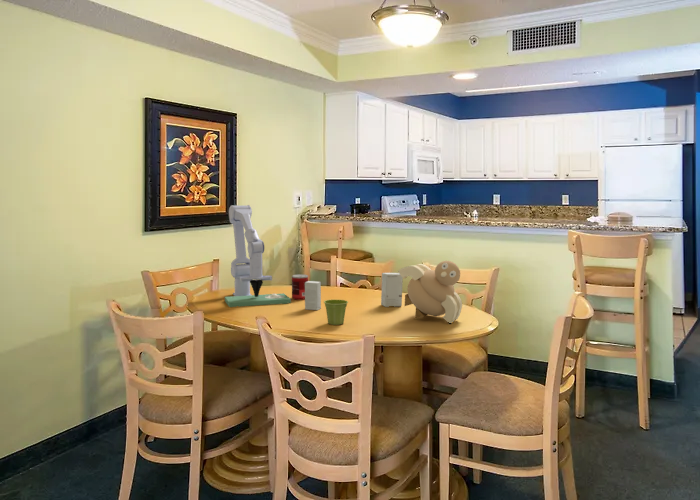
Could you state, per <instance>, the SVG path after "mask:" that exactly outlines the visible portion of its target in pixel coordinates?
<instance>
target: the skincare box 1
mask: <svg viewBox="0 0 700 500" xmlns="http://www.w3.org/2000/svg"><path fill="white" fill-rule="evenodd" d="M321 283H322V282H321V281H315V280H308V281H307V282H305V299H304V310H309V311H310V310H311V311H319V310H320V309H322V303H321V302H322V298H321V297H322V294H321V293H322V289H321V288H322V287H321V285H322V284H321Z"/></svg>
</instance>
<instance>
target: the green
mask: <svg viewBox="0 0 700 500" xmlns="http://www.w3.org/2000/svg"><path fill="white" fill-rule="evenodd" d="M272 294H273V293H269V294H268V293H265V294H259V295H258V297H255V296H254V294H251V295H248V296H234V295H233V296H232V295H231V296H224V302H225V304H226V305H227V306H228V307H229V308H235V307H237V306H238V307H251V306H254V307H255V306H266V305H267V306H268V305H283V304H291V303H292V297H289V296H288V295H287V294H286V293H284V292H283V293H276V294H277V296H278V298H270V296H271V295H272Z"/></svg>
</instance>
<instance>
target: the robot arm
mask: <svg viewBox="0 0 700 500" xmlns="http://www.w3.org/2000/svg"><path fill="white" fill-rule="evenodd" d="M252 214H253V209H252V206H250V204H247V205H232V204H231V205H230V207H229V209H228V219H229V223H230V224H232V226H233V234H234V235H233V237H234V246H235V248H234V249H235V259H233V260H232V261H231V262H230V263H231V264H230V266H231V267H230V274H231V276H232V277H233V278H234V292H232V295H233V296H248V295H252V293H251V288H252V290H253V295H254V296H255V297H258V295H260V290H261V288H262V286H263V285H264V284H263V283H264V281H273V276H272V275H263V254H264V253H265V242H264V241H263V240H262V239H260V237H259V234H258V231H257V230H256V228H254V227H253V223H252V220H251V218H252ZM245 239H246V240H245ZM246 243H247V249H246ZM247 254H248V257H247Z"/></svg>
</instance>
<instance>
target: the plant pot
mask: <svg viewBox="0 0 700 500" xmlns="http://www.w3.org/2000/svg"><path fill="white" fill-rule="evenodd" d="M348 303H349V301H347V300H344V299H327V300H324V301H323V304H324V306H325V311H326V317H327V318H326V319H327V324H329V325H331V326H332V325H333V326H339V325H341V324H342V325H344V323H345V316H346V315H345V314H346V308H347V305H348Z"/></svg>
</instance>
